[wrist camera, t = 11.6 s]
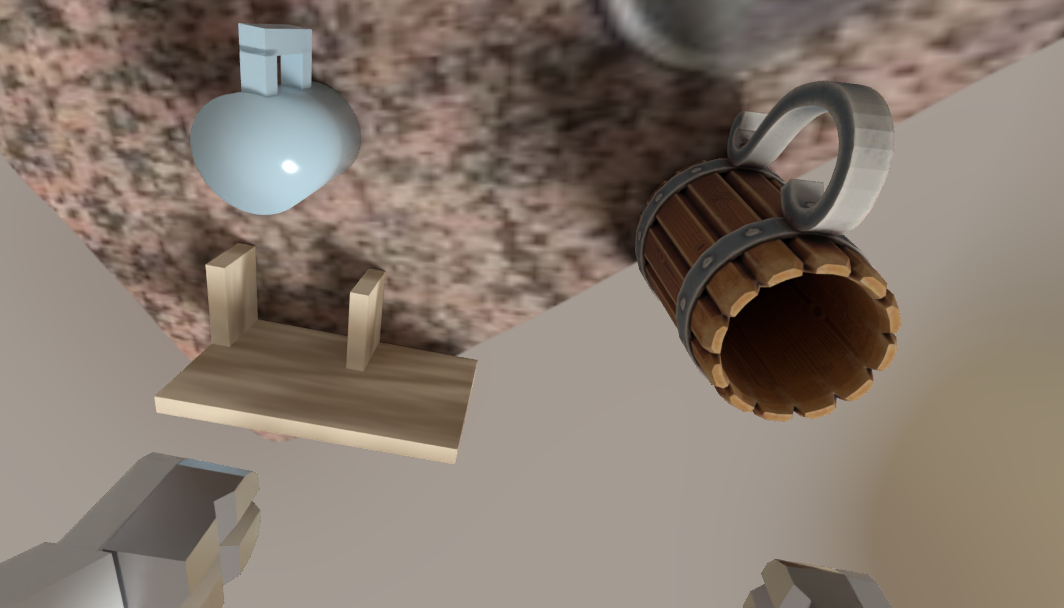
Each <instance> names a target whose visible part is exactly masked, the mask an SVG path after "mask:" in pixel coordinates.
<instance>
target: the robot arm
mask: <svg viewBox="0 0 1064 608" xmlns="http://www.w3.org/2000/svg"><path fill="white" fill-rule="evenodd" d="M258 491H259V479H258V473H256V472H253V471H249V470H244V469H239V468H234V467H229V466H224V465H218V464H214V463H209V462H204V461H198V460H193V459H188V458H181V457H175V456H170V455H165V454H160V453H155V452H152V453H150V454H148V455H146V456H145V457H142V458H141V459H140V460H138V461H137V462H136V463H135V464H134V465H133V466H132V467H131V468H130V469H129V471H128V472H127V473H126V474H125V475H124V476H123V477H122V478H121V479H120V480H119V481H118V482H117V483H116V484H115V485H114V486H113V487H112V488H111V489H110V490H109V491H108V492H107V493H106V494H105V495H104V496H103V497H102V498H101V499H100V500H99V501H98V502H97V503H96V504H95V505H94V506H93V507H92V508H91V510H89V511H88V512H87V513H86V515H84V517H83V518H82V519H81V520H80V521H79V522H78V523H77V524H76V525H75V526H74V527H73V528H72V529H71V530H70V531H69V532H68V533H67V534H66V535H65V536H64V537H63V538H62V539H61V540H60V541H59V542H58V543H57V544H56V543H48V542H44V543H42V544H40V545H38V546H36V547H34V548H32V549H30V550H28V551H26V552H23V553H21V554H19V555H17V556H15V557H13V558H11V559H9V560H7V561H4V562H2V563H0V608H222V606H223V604H224V594H223V586H224V585H225V584H227V583H228V582H230V581H231V580H233V579H234V578H236V577H238V576H239V575H241V573H242V571H243V569H244V567H245V566H246V564H247V562H248V560H249V558H250V557H251V554H252V551H253V549H254V546H255V543H256V540H257V538H258V533H259V527H260V521H261V520H260V509H259V508H258V507H257V506H256V505H255V503H254V502H253V501H252V500H253V499H254V497H255V495H256V494H257V492H258ZM761 575H762V577H763V580H764V583H765V584H763V585H762V586H760V587H758V588H756V589H754V590H752V591H750V593H749V595H748V597H747V599H746V601H745V603H744V605H743V608H892V607H891V605H890V604H889V602H888V600H887V599H886V597H885V595H884V594H883V592H882V590H881V589H880V587H879V585H878V584H877V582H876V581H875V580H873V579H872V578H871V577H870V576H869V575H868V574H864V573H858V572H851V571H846V570H840V569H832V568H830V567H824V566H817V565H811V564H804V563H798V562H791V561H785V560H779V559H774V560H772V561H770V562H769V563H767V565H766V566H765V568H764V569H763V571H762V573H761Z"/></svg>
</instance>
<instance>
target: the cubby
mask: <svg viewBox="0 0 1064 608" xmlns="http://www.w3.org/2000/svg"><path fill="white" fill-rule="evenodd" d="M385 272H386V271H381V270H376V269H371V268H369V269H368V270H367V271H366V272H365V274H364V275H363V276H362V278H361V279H360V280H359V281H358V283H357V284H356V285H355V287H354V288H353V289H352V290H351V292H350V304H349V323H348V336H344V335H339V334H334V333H328V332H323V331H317V330H312V329H307V328H301V327H296V326H291V325H285V324H280V323H274V322H269V321H264V320H258V306H257V277H256V248H255V246H252V245H247V244H242V243H237V244H236V245H234V246H233V247H231V248H230V249H228V250H227V251H225V252H224V253H222V254H221V255H219V256H218V257H216V258H215V259H213V260H212V261H210V262H209V263H207V264H206V277H207V289H208V301H209V314H210V326H211V338H212V344H211V345H210V346H209V347H208V348H207V349H206V350H205V351H203V352H202V353H201V354H200V355H199V356H198V357H197V358H196V359H195V360H194V361H193V362H191V364H189V365H188V366H187V367H186V368H185V369H184V370H183V371H182V372H180V374H178V375H177V376H176V377H175V378H174V379H173V380H172V381H171V382H170V383H169V384H167V385H166V386H165V387H164V388H163V389H162V390H161V391H160V392H159V393H158V394H157V395H155V396H154V398H155V404H156V411H157V413H163V414H169V415H174V416H180V417H186V418H192V419H198V420H203V421H209V422H215V423H221V424H226V425H233V426H238V427H244V428H249V429H255V430H261V431H267V432H272V433H278V434H284V435H290V436H295V437H301V438H307V439H313V440H319V441H325V442H330V443H336V444H341V445H347V446H353V447H359V448H365V449H370V450H376V451H382V452H388V453H393V454H400V455H405V456H411V457H416V458H422V459H428V460H434V461H439V462H445V463H451V464H455V461H456V457H457V453H458V449H459V444H460V440H461V435H462V431H463V426H464V422H465V417H466V412H467V407H468V404H469V399H470V394H471V390H472V385H473V381H474V377H475V372H476V366H477V360H473V359H468V358H463V357H457V356H452V355H446V354H441V353H436V352H430V351H425V350H420V349H414V348H409V347H403V346H398V345H393V344H387V343H382V342H380V332H381V320H382V308H383V296H384V284H385Z"/></svg>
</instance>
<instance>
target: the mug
mask: <svg viewBox="0 0 1064 608" xmlns="http://www.w3.org/2000/svg"><path fill="white" fill-rule="evenodd" d="M826 112H829V113H830V114H831V115H832V116H833V119H834V121H835V123H836V126H837V130H838V137H839V153H838V158H837V162H836V167H835V169H834V172H833V175H832V178H831V180H830V183H829V185H828V187H827V189H826V191H825V192H824V185H823V182H816V181H806V180H798V179H790V180H789V181H788V182H787V183H786V182H785V181H783V180H782V179H781V178H780V177H779V176H778V175H777V174H775V173H773V172H772V171H770V170H768V169H767V168H766V167H768V166H769V165H770V164H771V163H772V162H773V161H774V160H775V159H776V158H777V157H778V156H779V155H780V154H781V152H782V151H783V150H784V149H785V147H786V146H787V145H788V144H789V143H790V141H791V140H792V139H793V138H794V137H795V136H796V135H797V134H798V132H799V131H800V130H801V129H802V128H803V127H804V126H806V125H807V124H808V123H809V122H810V121H811V120H813V119H814V118H815V117H817V116H819V115H821V114H823V113H826ZM893 151H894V127H893V121H892V116H891V113H890V110H889V108H888V105H887V103H886V102H885V100H884V98H883V97H882V96H881V95H880V94H879V93H878V92H877V91H876V90H874V89H872V88H871V87H868V86H864V85H858V84H850V83H841V82H832V81H817V82H811V83H807V84H804V85H801V86H799V87H796V88H795V89H793V90H792V91H790V92H789V93H787V94H786V95H785V96H784V97H783V98H782V99H781V100H780V101H779V102H778V103H777V104H776V105H775V106H774V107H773V109H772V110H771V111H770V112H769V113H768V114H766V113H757V112H748V111H741V112H739V114H738V115H737V117H736V118H735V120H734V122H733V125H732V127H731V131H730V135H729V139H728V147H727V156H728V158H718V159H715V160H711V161H708V162H707V161H706V160H703V161H700V162H697V163H694V164H691V165H689V166H687V167H685V168H683V169H681V170H679V171H677V172H676V174H675V176H674V177H672V178H671V179H670V180H665V181H664V182H663V183H662V184H661V185H660V186H659V187H658V188H657V189H656V190H655V191H654V192H653V194H652V195H651V196H650V198H649V199H648V201H647V202H646V204H647V207H646V208H645V210H644V211H643V213H641V214H640V217H639V221H638V224H637V227H636V237H635V241H636V246H635V253H636V257H637V261H638V266H639V270H640V272H641V273H642V275H643V277H644V279H645V280H646V282H647V284H648V285H649V287H650V289H651V291H652V292H653V294H654V296H655V297H656V298H657V299H659V300H660V301H661V302H662V304H663V306H664V307H665V309H666V311H667V312H668V314H669V315H670V317H671V319H672V320H673V322H674V324H675V325H676V327H677V329H678V332H679V337H680V339H681V341H682V343H683V344H684V346H685V348H686V350H687V352H688V353H689V355H690V357H691V358H692V360H693V362H694V363H695V365H696V367H697V368H698V370H699V372H700V373H701V374H702V375H703V376H704V377H705V378H706V379H708V380H709V381H710V383H711V385H714V387H715V388H716V390H717V392H718V393H719V395H720V396H721V397H723V398H724V399H725V400H726V401H727V402H728V403H729V404H731V405H732V406H734V407H736V408H738V409H740V410H741V411H743V412H751V411H753V412H754V414H755V415H757V416H760V417H762V418H764V419H766V420H772V421H782V422H785V421H787V420H790V419H792V416H793V411H794V412H796V413H797V414H799V415H800V416H803V417H807V418H811V419H814V418H817V417H821V416H824V415H827V414H830V413H831V412H832V411H833V410H834V409H835V408H836V398H839V399H842V400H845V401H852V400H857V399H858V398H860V397H861V396H862V395H864V394H865V393H866V392H867V391H868V390H870V389H871V387H872V384H873V374H872V369H873V370H879V371H882V370H884V369H885V368H887V367H889V366H890V363H891V362H892V360H893V358H894V356H895V353H896V351H897V340H896V336H895V335H894V334H893V333H895V332H897V331H898V329H899V327H900V326H901V321H900V320H901V319H900V313H899V308H898V305H897V302H896V300H895V297H894V295H893V294H892V293H891V292H890V291H889V290H888V289H887V283H886V281H885V280H884V279H883V278H882V277H881V275H880V274H879V273H878V272H877V270H876V268H875V267H874V266H873V264H872V263H871V262H870V261H869V260H868V259H867V257H866V256H865V255H864V254H863V253H862V251H861V250H859V249H858V248H857V247H856V246H855V245H854V244H853V243H852V242H851V241H850V240H849V239H847V238H846V237H845V236H844V235H843V234H845V233H847V232H849V231H851V230H853V229H854V228H855V227H856V226H857V225H859V224H860V223H861V222H862V221H863V219H864V218H865V217H866V216H867V214H868V213H869V212H870V211H871V209H872V207H873V206H874V204H875V202H876V200H877V198H878V196H879V195H880V193H881V191H882V188H883V185H884V183H885V180H886V177H887V175H888V172H889V169H890V165H891V160H892V156H893Z"/></svg>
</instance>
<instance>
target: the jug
mask: <svg viewBox="0 0 1064 608" xmlns="http://www.w3.org/2000/svg"><path fill="white" fill-rule="evenodd" d="M238 26H239V48H240V70H241V92H237V93H232V94H227V95H223V96H219V97H217V98H215V99H213V100H211V101H209V102H208V103H207V104H205V105H204V106H203V107H202V109H201V110H200V111H199V112H198V114H197V115H196V118H195V120H194V122H193V125H192V129H191V137H190V139H191V151H192V155H193V159H194V162H195V164H196V167H197V169H198V171H199V173H200V175H201V176H202V178H203V179H204V181H205V182H206V184H207V185H208V186H209V187H210V188H211V189H212V190H213V191H214V192H215V193H216V194H217V195H218V196H219V197H220V198H221V199H223V200H224V201H225V202H227V203H229V204H230V205H232V206H234V207H236V208H238V209H240V210H243V211H245V212H249V213H253V214H260V215H270V214H277V213H280V212H283V211H285V210H288V209H289V208H291V207H293V206H294V205H296V204H297V203H299V202H300V201H302V200H303V199H305V198H306V197H308V196H309V195H311V194H312V193H314V192H315V191H316V190H318V189H319V188H321V187H322V186H324V185H325V184H327V183H328V182H330V181H331V180H333V179H334V178H336V177H337V176H339V175H340V174H342V173H343V172H345V171H346V170H347V169H348V168H350V167H351V165H352V164H353V163H354V161H355V160H356V158H357V156H358V153H359V150H360V144H361V132H360V127H359V123H358V120H357V117H356V115H355V113H354V111H353V109H352V108H351V107H350V105H349V104H348V102H347V101H346V100H345V99H344V98H343V97H342V96H341V95H340V94H339V93H337V92H336V91H335V90H333V89H332V88H330V87H328V86H326V85H324V84H321V83H318V82H315V81H311V63H312V29H308V28H303V27H298V26H294V25H284V24H253V23H238ZM279 55H281V84H279V85H277V56H279Z"/></svg>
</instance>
